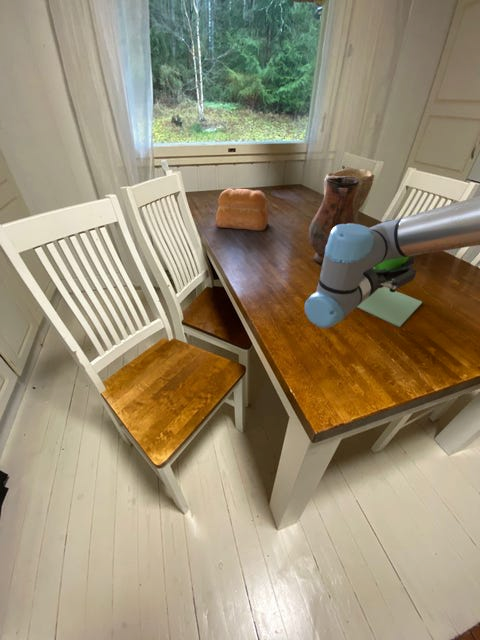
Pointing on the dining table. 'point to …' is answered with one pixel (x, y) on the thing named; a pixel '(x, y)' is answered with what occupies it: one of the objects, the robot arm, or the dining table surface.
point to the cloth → (390, 306)
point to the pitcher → (332, 213)
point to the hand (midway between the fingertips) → (395, 256)
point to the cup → (391, 264)
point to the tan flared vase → (363, 186)
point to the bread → (242, 210)
